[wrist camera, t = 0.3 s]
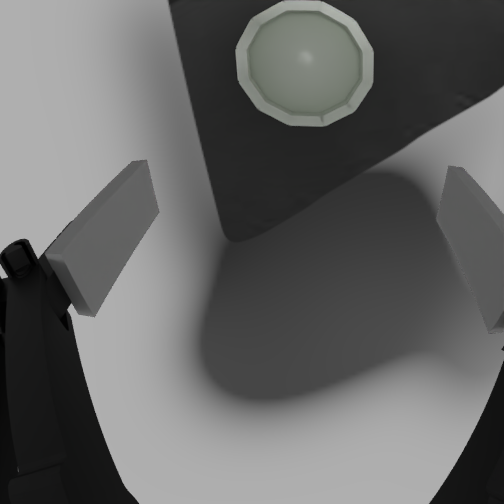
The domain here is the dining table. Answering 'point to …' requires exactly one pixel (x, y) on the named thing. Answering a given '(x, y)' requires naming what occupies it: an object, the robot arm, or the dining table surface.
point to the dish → (304, 63)
